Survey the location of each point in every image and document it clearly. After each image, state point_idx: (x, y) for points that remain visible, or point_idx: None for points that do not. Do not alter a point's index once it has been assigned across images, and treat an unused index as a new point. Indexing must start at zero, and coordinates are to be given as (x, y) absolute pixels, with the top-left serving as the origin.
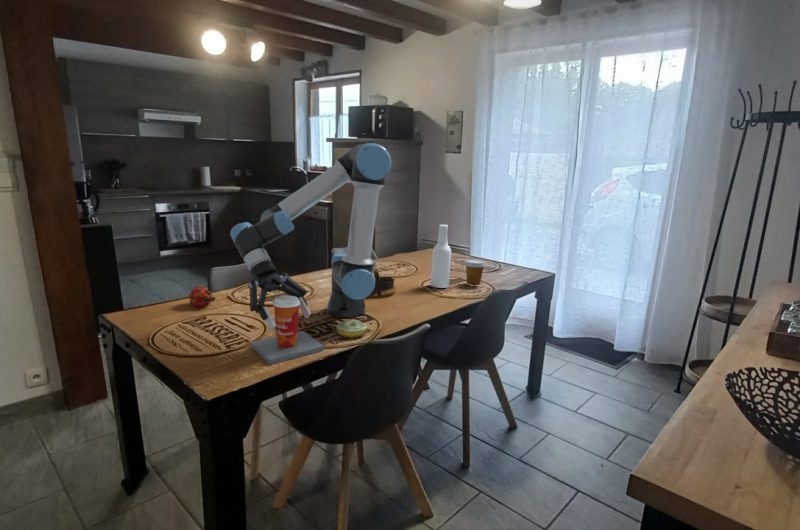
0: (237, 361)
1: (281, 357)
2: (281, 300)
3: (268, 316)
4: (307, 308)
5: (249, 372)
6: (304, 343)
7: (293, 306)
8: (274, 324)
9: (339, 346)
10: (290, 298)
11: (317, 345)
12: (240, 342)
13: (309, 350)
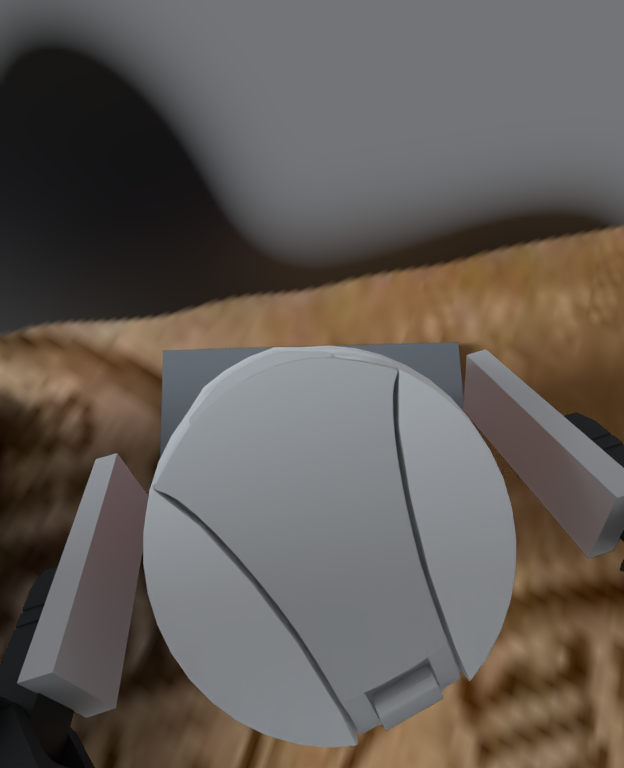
0: None
1: (397, 344)
2: (423, 504)
3: (550, 414)
4: (88, 505)
5: (545, 324)
6: None
7: (302, 348)
8: (483, 356)
9: (84, 359)
10: (262, 532)
11: (188, 374)
12: (507, 688)
13: (248, 349)
